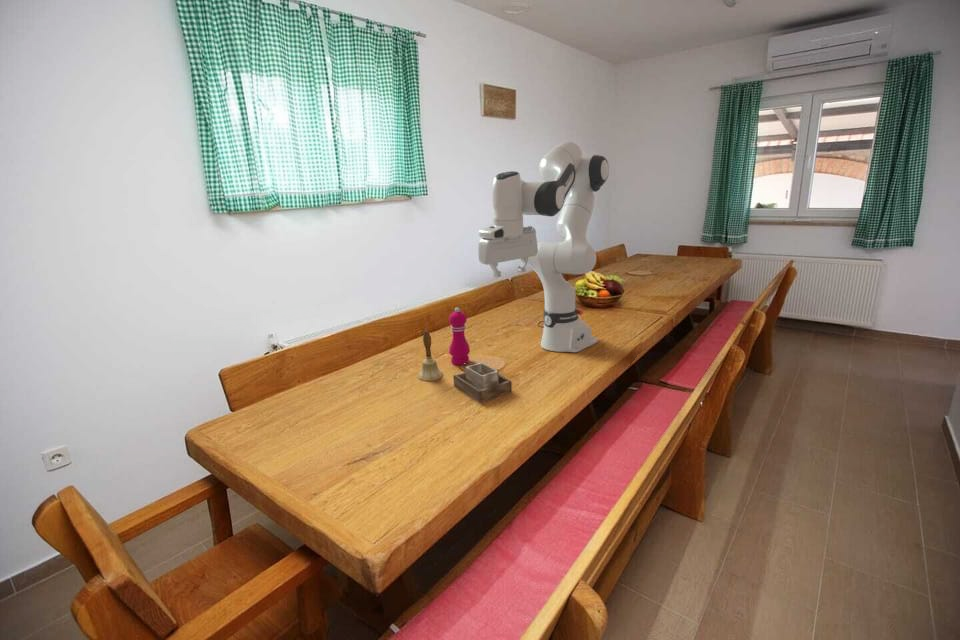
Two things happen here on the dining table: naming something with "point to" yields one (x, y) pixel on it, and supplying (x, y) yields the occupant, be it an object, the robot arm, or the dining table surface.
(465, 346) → the pepper mill
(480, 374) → the small crate
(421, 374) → the hand bell
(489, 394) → the big crate
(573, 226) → the robot arm
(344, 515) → the dining table surface
